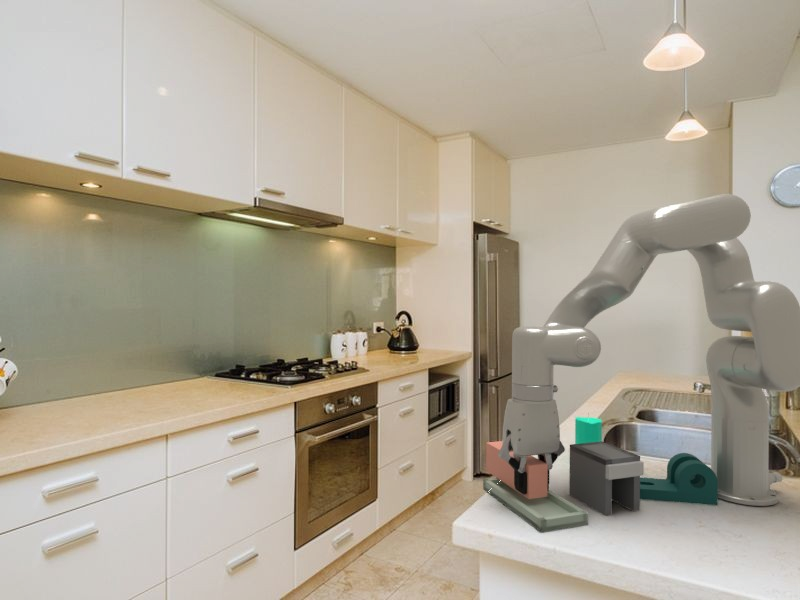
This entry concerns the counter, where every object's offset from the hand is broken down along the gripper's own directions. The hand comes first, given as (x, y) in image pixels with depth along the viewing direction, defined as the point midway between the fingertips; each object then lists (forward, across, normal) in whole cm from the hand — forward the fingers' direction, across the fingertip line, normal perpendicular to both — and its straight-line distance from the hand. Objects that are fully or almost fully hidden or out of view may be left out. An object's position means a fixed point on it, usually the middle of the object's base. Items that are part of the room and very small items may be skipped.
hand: (531, 489), depth 94 cm
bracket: (+3, -28, +3) cm, 28 cm away
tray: (+3, 0, 0) cm, 3 cm away
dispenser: (+3, -14, +3) cm, 15 cm away
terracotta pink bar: (+1, 0, -6) cm, 6 cm away
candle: (+3, -27, -17) cm, 32 cm away
